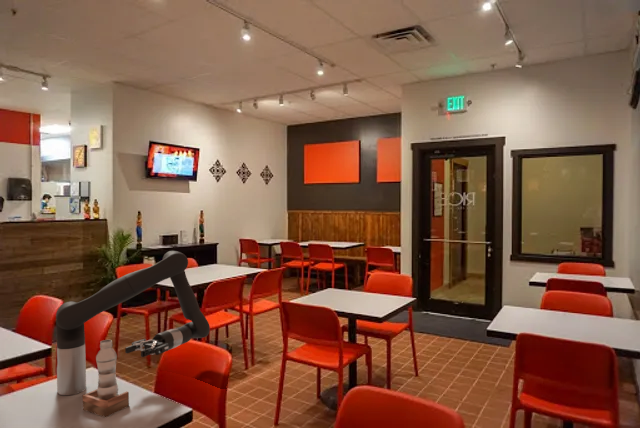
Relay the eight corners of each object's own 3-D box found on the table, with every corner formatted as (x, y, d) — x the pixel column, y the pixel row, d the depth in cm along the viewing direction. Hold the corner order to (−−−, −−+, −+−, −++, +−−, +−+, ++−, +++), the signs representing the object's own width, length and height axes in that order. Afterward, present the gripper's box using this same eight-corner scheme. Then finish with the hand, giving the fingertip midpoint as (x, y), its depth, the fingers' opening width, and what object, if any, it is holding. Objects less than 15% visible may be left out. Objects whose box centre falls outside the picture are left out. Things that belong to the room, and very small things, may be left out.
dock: (82, 409, 150) (82, 395, 150) (106, 399, 158) (106, 385, 158) (105, 417, 145) (105, 402, 145) (128, 406, 153) (128, 391, 152)
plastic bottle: (110, 403, 148) (108, 345, 147) (92, 401, 149) (91, 343, 149) (122, 395, 154) (121, 339, 154) (105, 393, 156) (104, 337, 155)
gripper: (155, 328, 179) (120, 339, 165) (180, 333, 172) (146, 345, 158) (155, 346, 179) (121, 359, 165) (181, 352, 172) (147, 365, 158)
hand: (133, 352), depth 161 cm, fingers open, 8 cm apart
